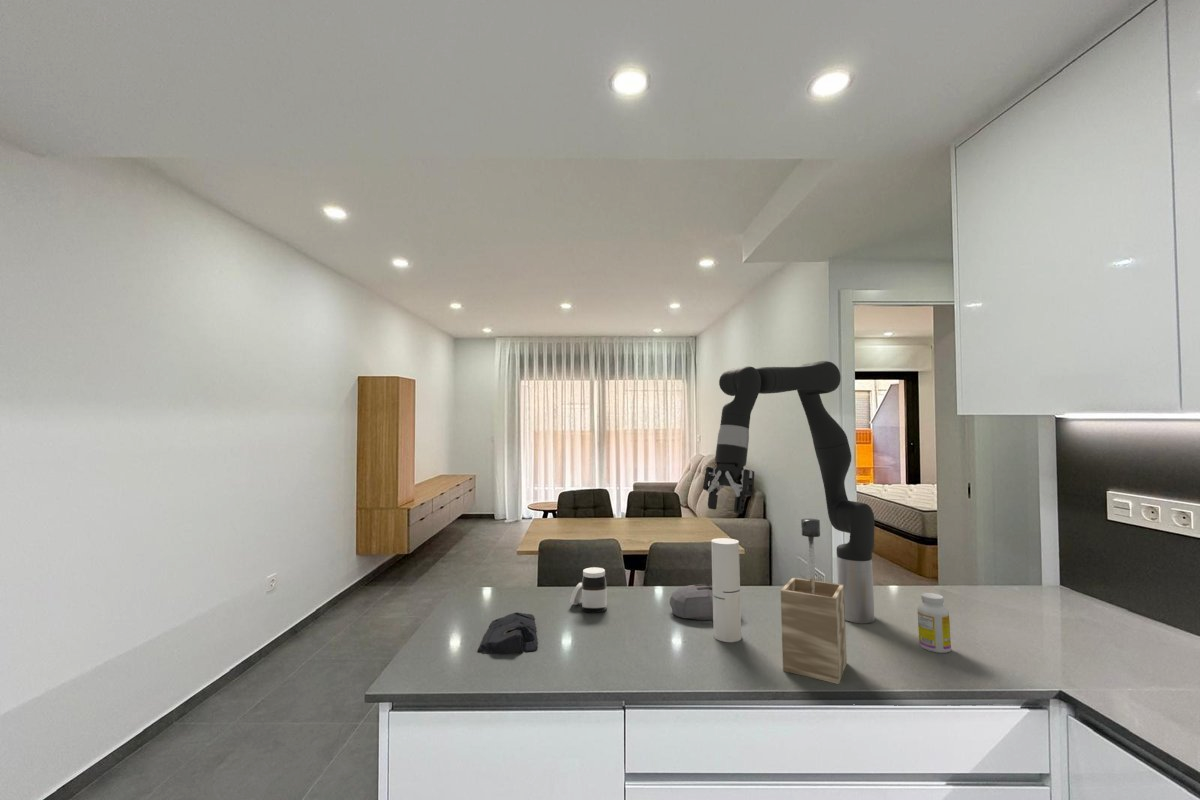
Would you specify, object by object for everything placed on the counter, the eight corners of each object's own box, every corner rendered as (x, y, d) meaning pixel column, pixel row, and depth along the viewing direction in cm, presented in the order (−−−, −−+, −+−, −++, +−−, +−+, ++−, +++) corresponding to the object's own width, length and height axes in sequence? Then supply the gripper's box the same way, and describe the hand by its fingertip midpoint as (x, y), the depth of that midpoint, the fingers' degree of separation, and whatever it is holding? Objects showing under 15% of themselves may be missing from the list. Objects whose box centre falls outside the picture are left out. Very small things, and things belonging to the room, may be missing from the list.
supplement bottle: (946, 644, 130) (943, 592, 130) (954, 655, 123) (952, 601, 124) (916, 641, 132) (913, 590, 132) (922, 652, 126) (920, 598, 126)
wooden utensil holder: (794, 651, 126) (792, 577, 127) (846, 663, 120) (843, 584, 121) (783, 670, 117) (780, 590, 118) (838, 684, 110) (835, 598, 111)
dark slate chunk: (542, 622, 149) (542, 605, 150) (537, 655, 127) (536, 635, 128) (489, 623, 149) (489, 607, 149) (474, 657, 127) (474, 637, 127)
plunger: (798, 607, 125) (795, 515, 126) (837, 614, 120) (833, 518, 122) (789, 619, 118) (786, 521, 119) (830, 626, 113) (827, 524, 114)
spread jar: (606, 614, 153) (606, 574, 154) (569, 614, 153) (568, 575, 154) (606, 600, 165) (606, 564, 166) (571, 601, 165) (571, 564, 166)
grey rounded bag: (728, 603, 162) (665, 605, 161) (727, 577, 162) (664, 578, 161) (743, 622, 147) (674, 624, 146) (743, 592, 147) (673, 594, 146)
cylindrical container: (742, 643, 132) (739, 544, 133) (713, 641, 133) (711, 543, 135) (740, 632, 139) (738, 538, 140) (713, 630, 140) (711, 537, 142)
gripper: (765, 448, 124) (758, 516, 121) (722, 447, 136) (714, 509, 133) (744, 443, 120) (735, 513, 117) (701, 442, 132) (693, 506, 129)
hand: (724, 511), depth 125 cm, fingers open, 8 cm apart
